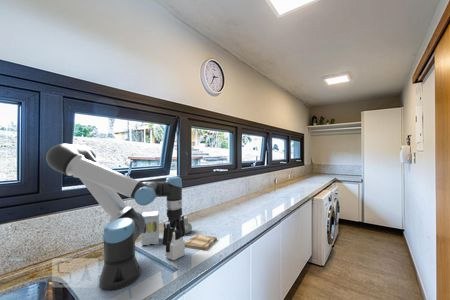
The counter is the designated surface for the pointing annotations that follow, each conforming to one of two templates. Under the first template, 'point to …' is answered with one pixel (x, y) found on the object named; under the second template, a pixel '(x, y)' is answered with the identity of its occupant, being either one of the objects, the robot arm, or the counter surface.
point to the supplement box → (150, 228)
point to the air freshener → (186, 225)
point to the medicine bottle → (177, 245)
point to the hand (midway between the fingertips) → (174, 253)
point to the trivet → (200, 242)
